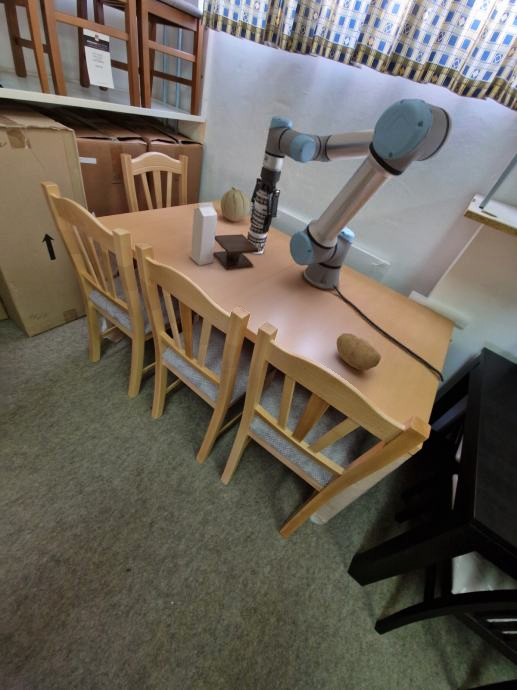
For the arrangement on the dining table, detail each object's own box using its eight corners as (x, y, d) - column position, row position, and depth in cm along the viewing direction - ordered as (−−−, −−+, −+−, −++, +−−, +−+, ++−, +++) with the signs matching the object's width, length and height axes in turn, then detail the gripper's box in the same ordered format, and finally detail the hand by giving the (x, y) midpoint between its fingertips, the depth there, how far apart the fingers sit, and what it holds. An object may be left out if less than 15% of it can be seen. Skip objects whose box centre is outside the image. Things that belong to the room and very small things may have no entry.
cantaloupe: (242, 229, 146) (248, 197, 136) (214, 220, 146) (218, 188, 136) (250, 219, 157) (256, 190, 147) (224, 211, 157) (228, 181, 147)
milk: (212, 262, 116) (219, 205, 102) (199, 265, 113) (204, 207, 98) (203, 255, 119) (208, 198, 104) (190, 258, 115) (194, 199, 101)
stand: (254, 267, 121) (258, 249, 115) (226, 270, 114) (229, 251, 109) (239, 251, 128) (242, 234, 122) (212, 254, 121) (214, 235, 116)
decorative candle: (266, 248, 136) (280, 191, 119) (261, 256, 129) (275, 197, 112) (247, 242, 136) (259, 184, 119) (241, 250, 129) (253, 190, 112)
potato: (341, 342, 97) (351, 323, 92) (377, 369, 91) (390, 351, 86) (324, 353, 91) (334, 334, 86) (361, 383, 85) (374, 364, 80)
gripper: (249, 158, 114) (239, 216, 130) (279, 177, 103) (265, 239, 118) (265, 159, 118) (253, 215, 133) (296, 178, 106) (280, 238, 122)
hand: (259, 226), depth 126 cm, fingers closed on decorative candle, 9 cm apart
